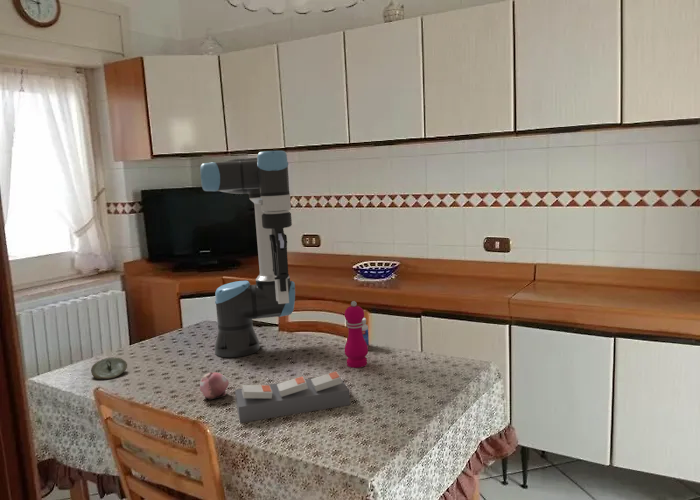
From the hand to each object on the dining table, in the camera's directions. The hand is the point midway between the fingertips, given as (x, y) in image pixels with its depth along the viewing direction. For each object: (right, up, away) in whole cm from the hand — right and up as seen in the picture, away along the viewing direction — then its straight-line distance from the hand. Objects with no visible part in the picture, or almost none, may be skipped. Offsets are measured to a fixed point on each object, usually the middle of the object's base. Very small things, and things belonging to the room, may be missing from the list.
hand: (282, 301), depth 153 cm
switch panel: (+3, -27, 0) cm, 27 cm away
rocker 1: (-6, -22, -5) cm, 24 cm away
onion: (-19, -27, +8) cm, 34 cm away
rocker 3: (+12, -21, -1) cm, 24 cm away
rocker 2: (+3, -21, -3) cm, 22 cm away
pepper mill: (+20, -22, +27) cm, 40 cm away
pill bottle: (+21, -19, +44) cm, 53 cm away
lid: (-57, -26, +30) cm, 70 cm away
